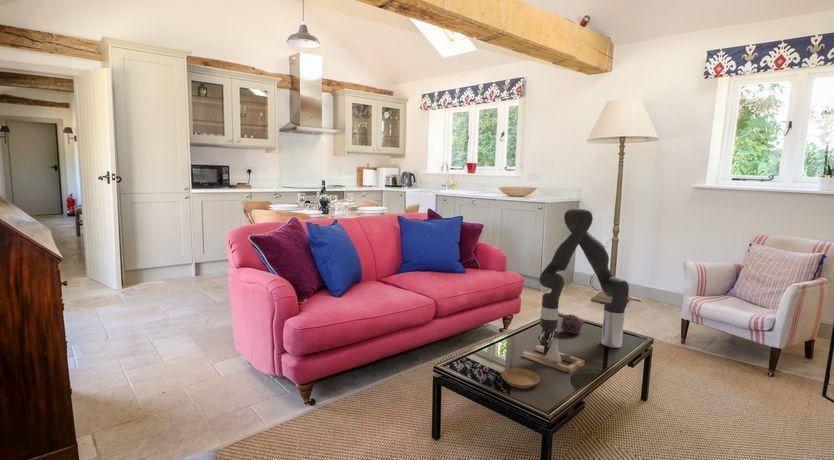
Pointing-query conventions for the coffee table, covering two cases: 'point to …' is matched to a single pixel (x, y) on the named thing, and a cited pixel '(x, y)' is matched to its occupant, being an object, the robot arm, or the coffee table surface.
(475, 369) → the coffee table surface
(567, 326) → the pine cone
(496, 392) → the coffee table surface
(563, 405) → the coffee table surface
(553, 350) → the flask
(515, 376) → the plant saucer
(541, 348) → the beam channel
